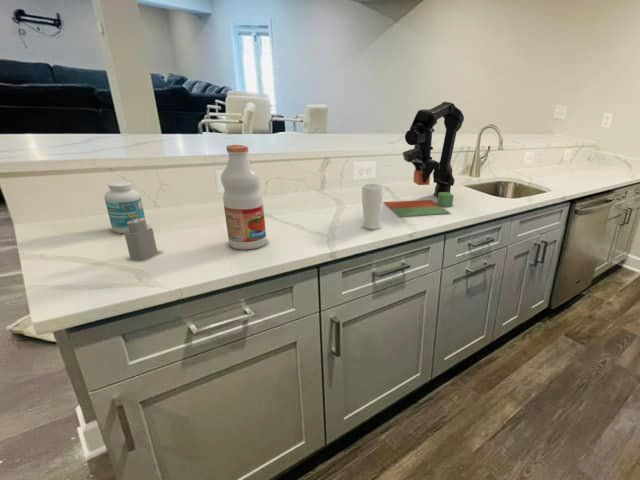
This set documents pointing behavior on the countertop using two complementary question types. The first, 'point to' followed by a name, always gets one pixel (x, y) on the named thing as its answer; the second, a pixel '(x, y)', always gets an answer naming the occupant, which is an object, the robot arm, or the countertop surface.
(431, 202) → the sorting mat
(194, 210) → the countertop surface
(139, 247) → the power adapter
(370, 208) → the drinking glass
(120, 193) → the pill bottle
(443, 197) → the sage block
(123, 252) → the countertop surface
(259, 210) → the fruit juice
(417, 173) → the terracotta block
